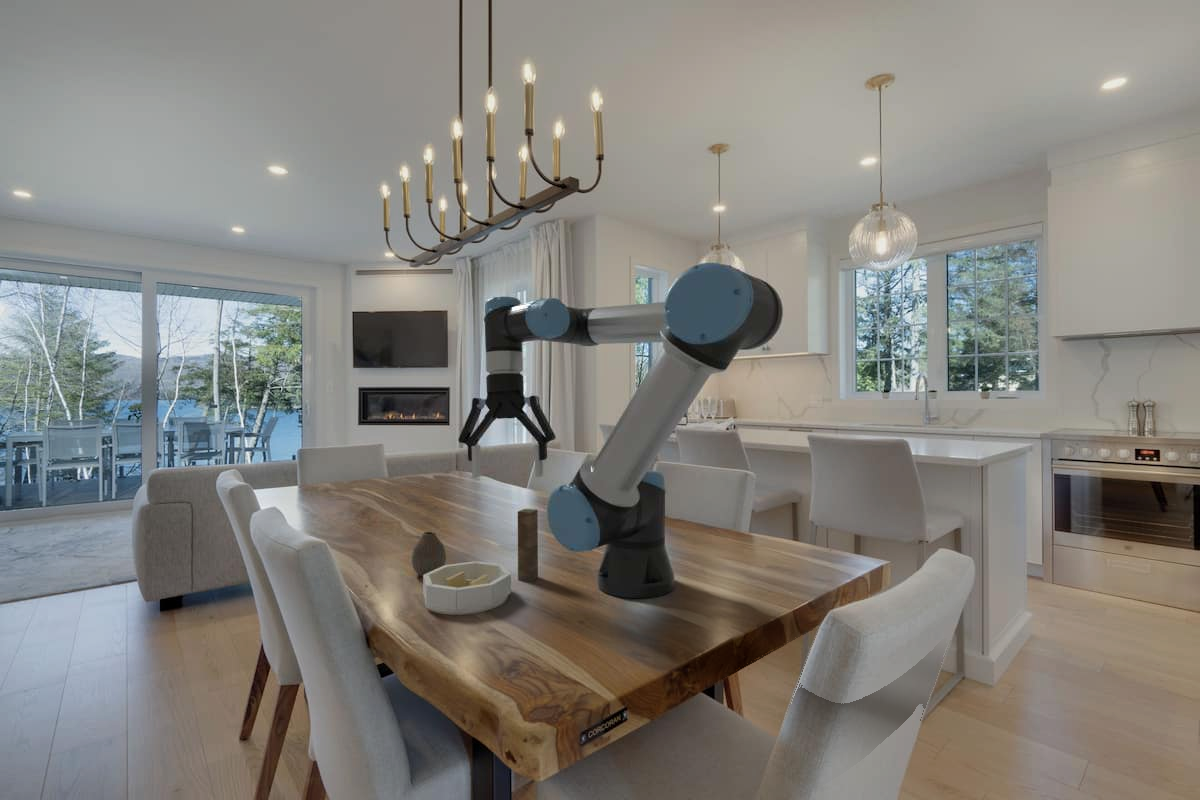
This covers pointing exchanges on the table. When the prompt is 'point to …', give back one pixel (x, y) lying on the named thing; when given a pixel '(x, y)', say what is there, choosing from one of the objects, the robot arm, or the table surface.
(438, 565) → the vase
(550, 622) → the table surface
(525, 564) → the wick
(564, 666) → the table surface
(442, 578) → the white octagonal bowl
